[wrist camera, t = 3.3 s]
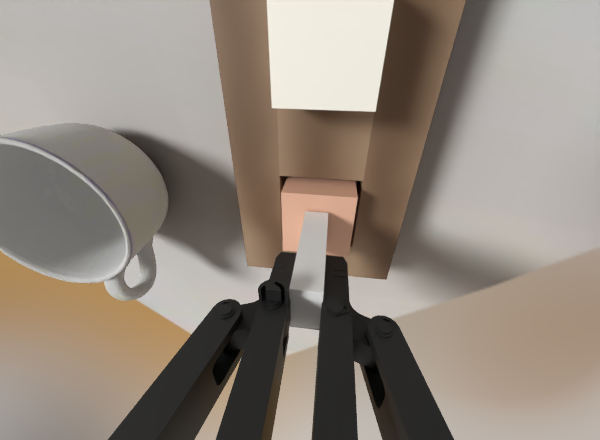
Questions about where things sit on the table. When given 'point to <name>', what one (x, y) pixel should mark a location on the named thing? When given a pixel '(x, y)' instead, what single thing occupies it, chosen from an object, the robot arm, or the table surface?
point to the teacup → (80, 205)
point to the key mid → (327, 53)
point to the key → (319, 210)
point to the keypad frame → (332, 128)
